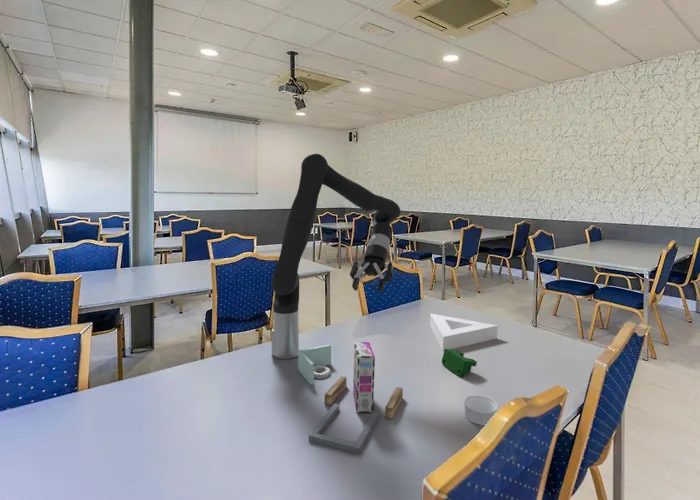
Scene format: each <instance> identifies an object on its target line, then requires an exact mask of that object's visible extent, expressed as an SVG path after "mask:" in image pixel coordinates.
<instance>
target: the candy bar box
mask: <svg viewBox="0 0 700 500" xmlns="http://www.w3.org/2000/svg"><path fill="white" fill-rule="evenodd" d="M353 343H354V344H353V347H354V348H353V377H352V378H353V380H352V383H353V384H352V386H353V387H352V395H353V400H354V405H355V406H354V407H355V410H356V411H355V412H356V414H363V413H364V414H366V413H367V414H368V413H369V414H373V412H374V397H375V396H374V394H375V393H374V392H375V369H376V368H375V366H376V365H375V364H376V363H375V361H376V356H375V354H374V351H373V349H372V346H371V345H372V344H371V342H369V341H368V342H367V341H366V342H365V341H364V342H360V341H359V342H358V341H357V342H355V341H354V342H353Z"/></svg>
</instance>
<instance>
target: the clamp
mask: <svg viewBox="0 0 700 500" xmlns="http://www.w3.org/2000/svg"><path fill="white" fill-rule="evenodd" d="M441 363H442V366H444V367H446V368H447V369H449V370H450V371H451V372H452V373H454V374H456V375H457V376H459V377H465V376H467V373H470V372H471V370H472V367H477V364H478V362H477V361H476V360H475V359H474V358H469V357H465V353H464V352H462V351H460V350H457V349H445V350H444V351H443V355H442V359H441Z"/></svg>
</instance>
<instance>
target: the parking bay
mask: <svg viewBox="0 0 700 500" xmlns="http://www.w3.org/2000/svg"><path fill="white" fill-rule="evenodd" d="M339 411H340V404H338V403H333V404H332V405H331V407H330V408H329V409H328V411H327V412H326V413H325V414H324V416H323V417H322V418H321V420H320V421H319V422H318V423H317V424H316V426H314V428H313V429H312V431H311V432H310V433H309V434H308V442H312V443H316V444H319V445H323V446H325V447H331V448H334V449H337V450H342V451H345V452H349V453H353V454H356V455H360V453H361V452H362V449H364V446H365V444H366V442H367V440H368V438H369V437H370V435H371V433H372V432H373V429H374V428H375V426H376V424H377V422H378V420H379V417H380V416H379V415H380V414H379V412H375V411H373V412H372V413H371V415H370V418H369V419H368V421H367V423H366V424H365V426H364V428H363V429H362V430H361V432H360V434H359V436H358V438H357V439H356V441H355V442H353V441H349V440H348V441H347V440H344V439H341V438H337V437H332V436H329V435H325V434H322V433H323V432H324V430H325V429H326V428H327V427H328V425H329V424H330V423H331V421H332V420H333V418H334V417H335V416H336V415H337V413H338V412H339Z"/></svg>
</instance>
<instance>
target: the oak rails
mask: <svg viewBox="0 0 700 500" xmlns="http://www.w3.org/2000/svg"><path fill="white" fill-rule="evenodd" d="M346 387H347V376H343V375H340V376H339V377H338V379H337V380H335V382H334V383H333V384H332V386H330V387H329V389H328V390H327V391H326V392H325V393H324V405H328V406H333V405H334V403H335V401H336V400H337V399H338V397H339V396H340V395H341V394H342V392H343V391H344V390H345V389H346ZM403 392H404V390H403V387H398V386H396V387H395V388H394V391H392V394H391V396H390V397H389V400H388V401H387V403H386V405H385V407H384V418H385V419H389V420H393V418H394V416H395V414H396V412H397V410H398V408H399V406H400V403H402V399H403V396H404V395H403V394H404V393H403Z"/></svg>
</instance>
